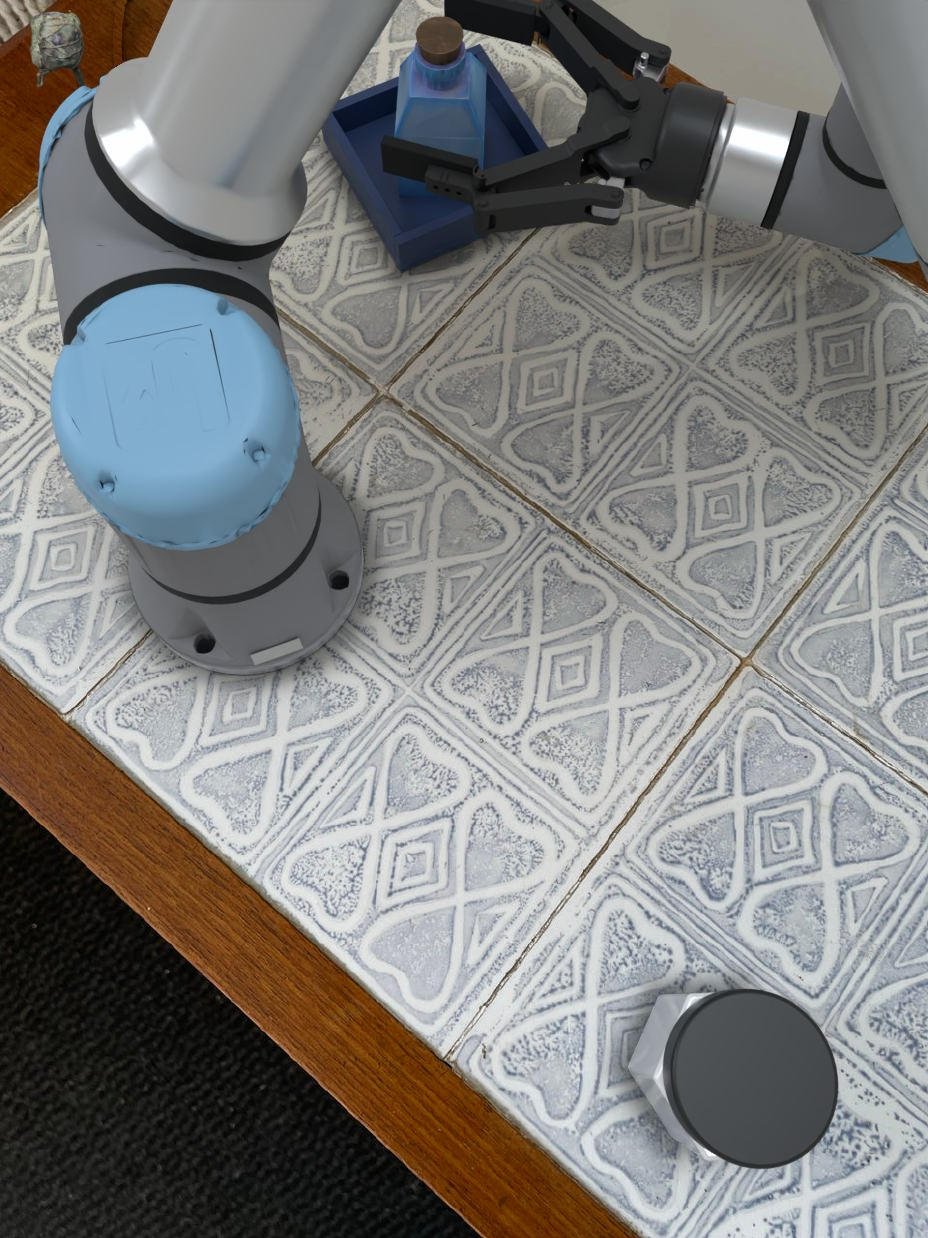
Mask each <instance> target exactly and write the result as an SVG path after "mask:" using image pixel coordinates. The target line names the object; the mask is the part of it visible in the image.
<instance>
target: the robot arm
mask: <svg viewBox="0 0 928 1238" xmlns="http://www.w3.org/2000/svg"><path fill="white" fill-rule="evenodd" d="M805 1H806V3H807V6H808V8H809V10H810V13H811V14H812V17H813V19H814V21H815V24H816V26H817V28H818V31H819V33H820V35H821V37H822V40H823V42H824V44H825V46H826V49H827V52H828V54H829V57H830V58H831V61H832V63H833V66H834V68H835V70H836V72H837V74H838V77H839V79H840V81H841V82H840V84H839V87H838V89H837V92H836V95H835V97H834V99H833V102H832V105H831V106H830V108H829V110H828V112H827V115H826V116H825V115H821V114H815V113H812V112H807V111H803V110H796V109H792V108H788V107H785V106H781V105H777V104H774V103H770V102H766V101H763V100H760V99H756V98H751V97H748V96H744V95H742V96H740V97H738V98H737V99H736V102H735V104H734V103H728V101H727V100H728V95H724V94H725V91H722V90H720V89H719V90H718V89H714V88H711V87H706V86H702V85H698V84H694V83H691V82H686V81H678V82H677V83H675V84H674V85H673V87H666V86H664V85H663V84H664V83H665V82H666V78H667V74H668V71H669V66H670V61H671V56H672V52H673V50H672V48H671V47H670V46H668V45H666V44H664V43H661V42H658V41H655V40H653V39H650V38H647V37H644V36H643V35H641V34H640V33H638V32H637V31H636V30H634V29H633V28H632V27H630V26H629V25H627V24H626V23H625V22H623V21H622V20H621V19H619V18H618V17H616V16H615V15H613V14H612V13H611V12H610V11H608V10H607V9H605V8H604V7H603V6H602V5H600V4H599V3H597V2H596V1H594V0H541V1H536V0H443V17H449V18H451V19H453V20H455V21H456V22H457V23H459V24H460V26H461V27H462V29H463V31H468V32H471V33H476V34H480V35H484V36H488V37H490V38H491V37H492V38H496V39H499V40H504V41H508V42H512V43H515V44H519V45H524V46H527V47H528V46H529V47H532V45H533V42H534V40H535V33H536V40H535V41H536V42H535V43H536V45H537V46H539V45H540V44H543V45H544V46H545V47H546V48H547V49H548V51H549V52H550V53H551V55H552V56H554V58H555V59H556V60H557V62H559V64H560V65H561V66H562V67H563V69H564V70H565V71H566V72H567V73H568V75H569V76H570V77H571V78H572V79H573V81H574V82H575V83H576V85H578V87H579V88H580V89H581V90H582V91H583V93H584V94H585V96H586V103H585V110H584V113H583V114H582V115H581V117H580V118H579V121H578V123H577V127H576V133H574V134H571V135H569V136H568V137H567V138H566V139H565V141H563V142H561V143H559V144H556V145H554V146H551V147H549V148H548V149H545V150H542V151H539V152H536V153H533V154H530V155H527V156H524V157H521V158H518V159H515V160H512V161H509V162H506V163H503V164H500V165H498V166H495V167H492V168H489V169H486V170H483V171H482V170H481V168H480V167H479V164H478V159H475V158H471V157H468V156H464V155H460V154H456V153H452V152H448V151H445V150H441V149H437V148H433V147H429V146H426V145H422V144H418V143H414V142H410V141H406V140H403V139H399V138H395V137H391V136H387V135H384V136H383V139H382V141H381V154H382V165H383V172H385V173H389V174H392V175H396V176H400V177H404V178H407V179H411V180H415V181H419V182H423V183H425V189H426V190H427V191H429V192H430V193H432V194H436V195H440V196H443V197H447V198H451V199H455V200H458V201H462V202H465V203H468V204H469V205H470V206H471V207H472V209H473V222H474V231H475V232H476V233H477V234H480V235H486V234H490V235H493V234H501V233H508V232H516V231H524V230H531V229H532V230H533V229H541V228H548V227H556V226H563V225H571V224H580V223H589V224H596V225H602V226H607V227H614V226H617V225H618V224H619V222H620V220H621V216H622V211H623V206H624V202H625V197H626V195H625V191H624V190H627V189H637V190H639V191H641V192H642V193H644V195H645V196H646V198H647V199H649V200H652V201H656V202H660V203H663V204H667V205H671V206H675V207H679V208H682V209H686V210H690V208H695V207H696V204H697V202H698V203H702V204H704V206H703V210H704V212H705V214H707V215H712V216H716V217H719V218H723V219H726V220H731V221H734V222H738V223H742V224H746V225H748V226H749V225H750V226H753V227H758V228H759V227H760V228H762V229H764V230H768V231H770V230H772V231H775V232H779V233H783V234H786V235H790V236H794V237H798V238H802V239H804V240H809V241H811V242H815V243H819V244H822V245H826V246H828V247H829V246H830V247H833V248H836V249H840V250H843V251H847V252H849V253H851V254H852V255H855V256H857V257H860V258H864V257H871V258H877V259H882V260H885V261H886V260H887V261H892V262H895V263H901V264H912V263H915V262H917V261H918V263H919V266H920V269H921V271H922V273H923V275H924V278H925V281H926V283H927V284H928V0H805ZM402 2H403V0H172V2H171V4H170V6H169V8H168V11H167V13H166V16H165V18H164V20H163V23H162V25H161V27H160V30H159V31H158V34H157V36H156V39H155V40H154V42H153V45H152V46H151V50H150V52H149V54H148V56H146V57H145V56H144V57H137V58H132V59H129V60H127V61H123V63H122V64H120V65H118V66H117V67H115V68H114V67H113V68H112V69H111V70H110V71H109V72H108V73H106V74H105V75H103V76H101V77H100V78H99V85H97V86H95V87H93V88H90V87H88V86H87V87H86V86H82V87H80V86H79V88H77V89H76V90H74V92H72V93H70V95H69V96H68V97H67V98H66V99H65V100H63V101H62V103H61V104H60V105H59V107H58V108H57V110H56V111H55V112H54V113H53V114H52V116H51V118H50V120H49V122H48V123H47V126H46V129H45V130H44V134H43V137H42V141H41V146H40V151H39V169H38V177H37V196H38V206H39V211H40V215H41V219H42V220H41V221H42V222H43V225H44V228H45V231H46V233H47V240H48V241H47V242H48V249H49V255H50V262H51V268H52V276H53V281H54V282H53V283H54V288H55V295H56V304H57V309H58V316H59V323H60V330H61V337H62V343H63V347H62V349H61V351H60V353H59V356H58V358H57V361H56V364H55V367H54V370H53V375H52V379H51V385H50V395H49V404H50V405H49V406H50V407H49V408H50V418H51V425H52V428H53V433H54V436H55V439H56V442H57V444H58V448H59V450H60V454H61V457H62V460H63V462H64V465H65V467H66V468H67V470H68V471H69V472H70V473H71V476H72V478H73V479H74V482H75V484H76V487H77V489H78V491H80V493H81V494H83V496H84V498H85V499H86V501H87V502H88V504H90V505H91V506H92V507H93V508H94V510H95V511H96V512H97V513H98V514H99V515H100V517H102V518H103V519H104V520H105V522H106V523H107V524H108V525H109V527H110V528H111V530H112V531H113V533H114V534H115V535H117V537H118V538H119V540H120V541H121V542H122V543H123V545H124V546H125V548H126V549H127V550H128V554H127V555H128V557H127V571H128V581H129V586H130V591H131V594H132V598H133V600H134V602H135V605H136V608H137V609H138V611H139V614H140V616H141V617H142V619H143V620H144V622H145V623H146V624H147V626H148V627H149V628H150V629H151V631H152V632H153V633H154V635H155V636H157V638H158V639H159V641H160V642H162V643H163V644H164V646H166V647H167V648H168V650H171V652H173V653H174V654H176V655H177V656H178V657H180V658H182V659H183V660H185V661H186V662H189V663H191V664H193V665H195V666H196V667H200V668H202V669H205V670H209V671H211V672H215V673H220V674H225V675H226V674H227V675H239V676H240V675H241V676H242V675H243V676H244V675H245V676H246V675H258V674H265V673H270V672H274V671H278V670H281V669H285V668H287V667H289V666H292V665H294V664H296V663H299V662H300V661H302V660H304V659H306V658H308V657H309V656H311V655H312V654H314V653H315V652H317V651H318V650H319V649H321V648H322V647H323V646H325V644H327V643H328V642H329V641H330V640H331V639H332V638H333V637H334V636H335V635H336V633H338V631H340V629H341V627H342V626H343V625H344V623H345V622H346V620H347V619H348V618H349V616H350V614H351V612H352V611H353V608H354V607H355V604H356V602H357V599H358V596H359V593H360V591H361V588H362V587H361V586H362V582H363V576H364V563H365V561H364V560H365V558H364V549H363V544H362V543H363V541H362V538H361V533H360V529H359V525H358V522H357V518H356V515H355V514H354V511H353V509H352V507H351V506H350V504H349V502H348V501H347V499H346V497H345V496H344V494H343V493H342V492H341V491H340V489H339V488H338V487H337V486H336V485H335V484H334V483H333V482H332V481H331V480H330V479H329V478H328V477H326V476H325V475H324V474H323V473H322V472H321V471H319V470H318V469H316V468H315V467H314V466H313V462H312V459H311V455H310V452H309V448H308V444H307V440H306V437H305V436H306V435H305V432H304V428H303V423H302V420H301V419H302V418H301V410H300V405H299V397H298V392H297V390H296V388H295V387H296V386H295V384H294V383H295V382H294V379H293V376H292V373H291V370H290V366H289V362H288V357H287V353H286V352H287V351H286V348H285V344H284V340H283V339H284V338H283V334H282V330H281V325H280V320H279V316H278V313H277V309H276V304H275V300H274V295H273V290H272V286H271V281H270V271H271V266H272V264H273V261H274V260H275V257H276V256H277V254H278V253H279V251H280V250H281V248H282V247H283V245H284V244H285V242H286V240H287V239H288V237H289V236H290V235H291V233H292V232H293V230H294V228H295V227H296V225H298V222H299V221H300V219H301V217H302V215H303V212H304V211H305V208H306V205H307V201H308V180H307V175H306V171H305V167H304V164H303V160H304V157H305V156H306V154H307V152H308V151H309V150H310V148H311V147H312V145H313V143H314V141H315V140H316V138H317V136H318V134H320V132H321V131H322V127H323V125H324V124H325V122H326V121H327V119H328V117H329V116H330V114H331V113H332V111H333V109H334V108H335V106H336V105H337V103H338V101H339V100H341V99H342V97H343V96H344V94H345V92H346V91H347V89H348V87H349V86H350V85H351V83H352V81H353V79H354V78H355V76H356V74H357V73H358V71H359V70H360V68H361V66H362V65H363V64H364V62H365V60H366V58H367V57H368V55H370V52H371V51H372V49H373V47H374V46H375V44H376V43H377V41H378V40H379V38H380V36H381V35H382V33H383V31H384V30H385V28H386V27H387V25H388V23H389V22H390V20H391V19H392V17H393V16H394V14H395V12H396V11H397V9H398V8H399V6H400V4H401V3H402ZM622 72H623V73H625V74H626V75H628V76H630V77H632V78H631V79H627V78H626V77H625V76H624V74H623V73H622ZM594 178H599V179H598V180H597V182H585V181H589V180H592V179H594ZM563 183H568V184H564V185H562V186H557V185H560V184H563Z"/></svg>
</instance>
